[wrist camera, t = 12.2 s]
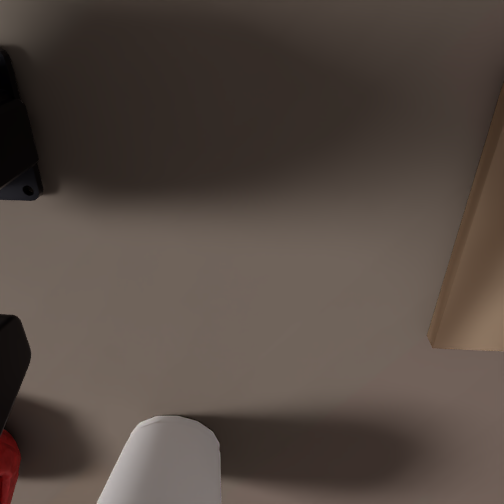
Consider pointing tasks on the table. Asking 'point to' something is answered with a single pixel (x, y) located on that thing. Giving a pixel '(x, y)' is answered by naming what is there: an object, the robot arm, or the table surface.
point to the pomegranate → (8, 466)
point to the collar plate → (477, 259)
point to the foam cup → (166, 465)
